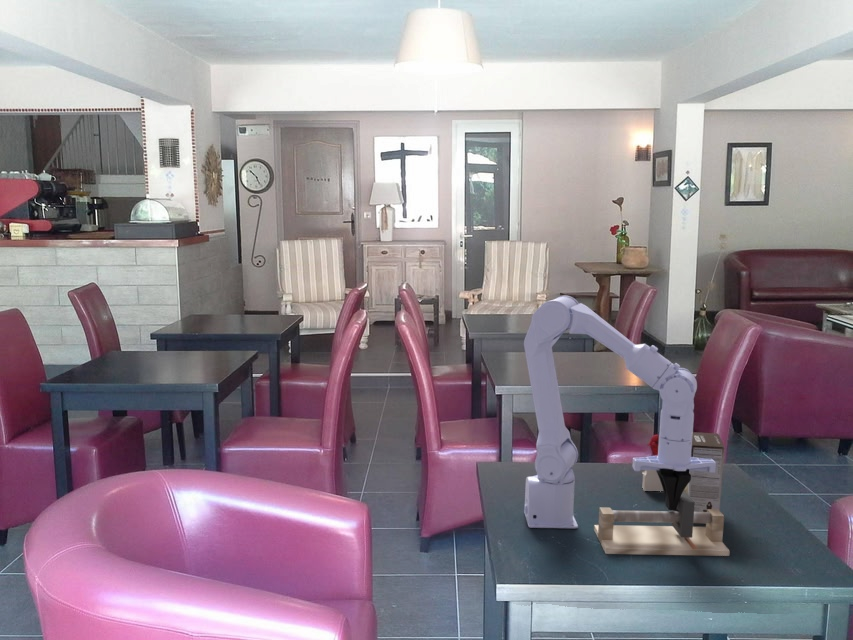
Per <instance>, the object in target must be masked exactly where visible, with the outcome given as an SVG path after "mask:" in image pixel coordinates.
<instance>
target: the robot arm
mask: <svg viewBox="0 0 853 640" xmlns="http://www.w3.org/2000/svg"><path fill="white" fill-rule="evenodd" d="M568 330H569V333H568V334H570V335H588V336H589V337H590V338H592V339H594V340H595V341H597V342H599V344H601V345H603V346H605V347H606V348H607V349H609V350H611V351H612V352H613V353H615V354H617V355H618V356H619V357H620V358H622V359H623V361H624V364H625V369H626V370H627V371H629V372H630V373H631V374H632V375H634V376H636V377H637V378H638V379H639V380H641V381H642V382H644V383H645V384H646V385H648V386H649V387H651V388H652V389H653V390H656V391H658V392H659V396H660V399H661V400H662V401H661V403H662V405H661V410H660V417H659V418H660V419H659V433H658V435H659V446H658V456H653V455H651V456H643V457H640V456H639V457H632V465H631V468H632V469H633V470H634V472H642V471H644V470H645V471H646V470H656V472H657V474H658V476H659V479H660V481H661V484H662V487H663V491H664V492H663V495H664V500H665V507H666V508H667V510H669V511H673V510H676V508H677V505H678V502H679V499H680V497H681V495H682V493H683V491H684V489H685V487H686V486H687V485H688V483H689V482H690V481H691V474H690V473H689V471H708V472H714V473H715V468H716V462H715V461H714V460H713V459H704V458H695V457H691V449H692V436H693V432H694V420H695V413H694V409H695V403H694V402H695V401H694V398H695V395H696V392H697V390H698V382H697V379H696V377H695V375H694V374H693V373H692V372H691V371H690V370H689V369H687V368H684V367H681V365H680V364H679V363H677V362H675V363H672V361H670V360H669V359H668V358H666V357H664V356H663V355H662V354H660V353H659V352H658V350H659V348H658V347H657V346H655V345H653V344H652V345H651V346H650V345H648V344H646V343H639V344H635V343H634V342H633V341H631V340H630V339H628V337H626V336H625V335H624V334H622V333H621V332H620V331H618V330H617V328H615V327H613V326H612V325H611V324H610V323H609V322H607V321H606V320H605V319H603V318H602V317H601V316H600V315H599V314H597V313H596V312H594V311H593V310H592V309H591V308H590V307H589V306H587V305H585V303H582V302H578V301H577V299H576V298H574V297H572V296H570V295H561V296H557V297H556V298H554V299H552V300H547V301H545V302H544V303H542V304H541V305H540V306H539V307H538V309H536V310H535V312H534V313H533V314H532V317H531V322H530V325H529V328H528V330H527V332H526V335H525V336H524V337H525V338H524V340H523V348H524V354H525V358H526V359H525V360H526V364H527V371H528V377H529V383H530V388H531V394H532V401H533V405H534V411H535V418H536V424H537V428H538V435H537V440H536V444H535V447H536V457H535V459H534V469H535V472H536V475H533V476H526V478H525V489H524V491H525V492H524V506H523V507H524V508H523V513H524V516H525V520H526V523H527V526H528V528H529V529H530V528H531V529H532V528H533V529H534V528H535V529H536V528H537V529H578V528H579V526H578V523H577V521H576V518H575V516H574V502H575V499H574V498H575V483H576V482H575V478H576V476H575V473H574V471H573V466H575V465H576V463H577V461H578V458H579V451H578V448H577V447H576V445H575V443H574V442H573V440H572V438H571V434H570V433H571V432H570V431H569V429H568V428H567V427H566V424H565V418H564V412H563V406H562V402H561V395H560V394H561V393H560V389H559V384H558V383H559V382H558V378H557V376H558V375H557V371H556V365H555V360H554V352H553V348H552V347H553V346H554V345H555V344H556V343H557V341H558V340H559V339H560V337H561V336H562V335H563V334H564V333H565V332H567V331H568Z"/></svg>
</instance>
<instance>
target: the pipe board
mask: <svg viewBox="0 0 853 640" xmlns="http://www.w3.org/2000/svg"><path fill="white" fill-rule="evenodd" d="M598 511H599V512H598V524H594V525H593V531H594V533H595V535H596V537H597V539H598V541H599V543H600V545H601V547H602V549H603V551H604V553H605V554H607V555H650V556H651V555H652V556H653V555H657V556H705V557H706V556H707V557H708V556H712V557H713V556H715V557H718V556H719V557H721V556H722V557H723V556H724V557H730V549H729V548H728V547H727V546H726V545H725V543H724V542H723V537H724V536H723V534H724V523H725V515H724V514H723V513H722V512H721V510H720V511H719V510H718V509H707V512H694V519H693V524H702V523H706V524H705V526H693V533H692V538H689V537H680V535H679V534H678V533H677V531H676V530H675V528H674V527H673V526H672V525H626V524H625V525H619V524H618V525H617V524H616V525H615V524H614V522H619V523H621V522H622V523H666V524H667V523H669V524H670V523H671V524H672V523H680V512H677V511H673V510H669V511H666V510H663V511H662V510H618V509H617V510H614V509H612V507H605V506H604V507H599V509H598Z"/></svg>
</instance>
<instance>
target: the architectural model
mask: <svg viewBox="0 0 853 640" xmlns="http://www.w3.org/2000/svg"><path fill="white" fill-rule="evenodd" d="M641 475H642V484H641V488H643V489H642V491H643V492H645V491H660V492H659V493H662V492H661V491H663V487H662V484H661V481H660V479H659V476H658V474H657V472H656V470H643V471H641Z"/></svg>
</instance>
